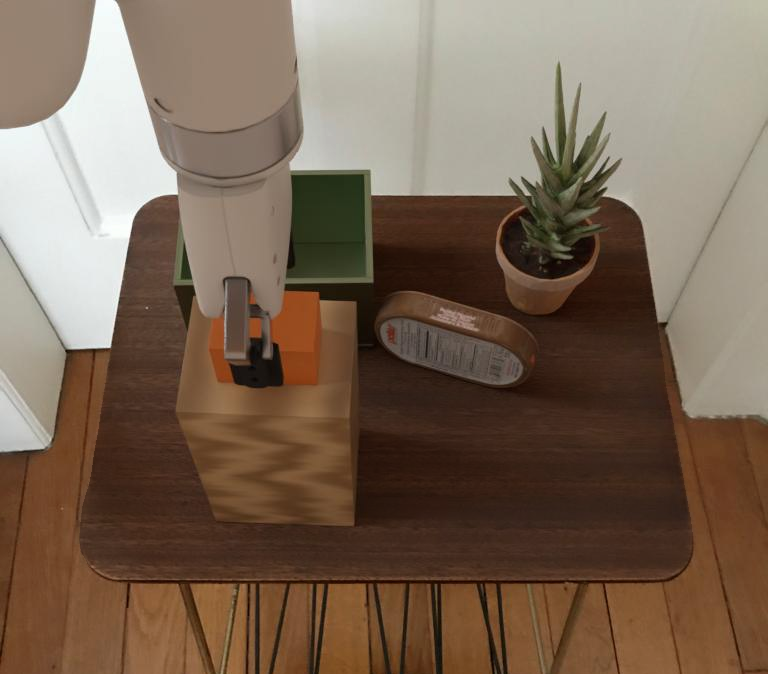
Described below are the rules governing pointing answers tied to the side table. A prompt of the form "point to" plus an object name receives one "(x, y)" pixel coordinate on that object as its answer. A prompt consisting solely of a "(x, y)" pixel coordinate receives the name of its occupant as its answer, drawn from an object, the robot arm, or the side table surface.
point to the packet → (281, 339)
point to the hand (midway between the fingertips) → (266, 321)
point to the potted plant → (555, 218)
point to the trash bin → (319, 244)
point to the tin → (456, 339)
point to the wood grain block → (276, 431)
